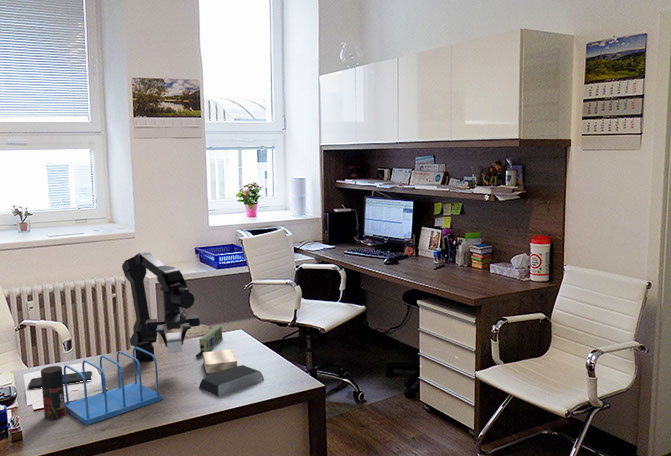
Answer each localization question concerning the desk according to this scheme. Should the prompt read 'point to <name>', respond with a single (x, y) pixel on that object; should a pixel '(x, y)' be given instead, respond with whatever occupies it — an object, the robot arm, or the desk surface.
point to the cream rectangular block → (219, 360)
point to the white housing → (174, 342)
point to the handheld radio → (210, 340)
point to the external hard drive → (231, 380)
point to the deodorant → (53, 393)
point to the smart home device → (70, 379)
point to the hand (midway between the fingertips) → (174, 345)
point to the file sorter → (112, 394)
